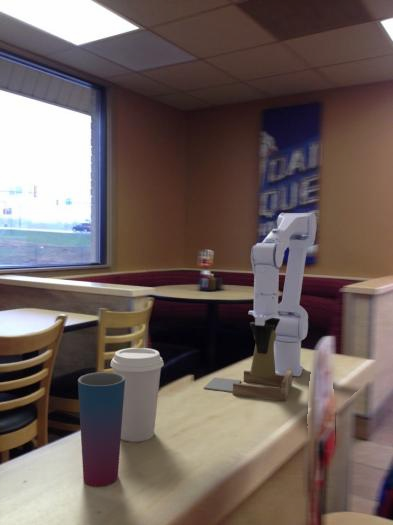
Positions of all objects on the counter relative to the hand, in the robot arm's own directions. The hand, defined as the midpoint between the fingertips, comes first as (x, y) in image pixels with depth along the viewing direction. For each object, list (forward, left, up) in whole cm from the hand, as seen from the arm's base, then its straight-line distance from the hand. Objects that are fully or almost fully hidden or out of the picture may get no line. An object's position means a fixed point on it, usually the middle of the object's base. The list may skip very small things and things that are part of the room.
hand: (264, 350), depth 112 cm
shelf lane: (0, -1, -10) cm, 10 cm away
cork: (0, 0, -6) cm, 6 cm away
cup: (+50, -15, -10) cm, 53 cm away
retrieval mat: (0, -10, -10) cm, 14 cm away
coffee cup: (+34, -17, -10) cm, 39 cm away
